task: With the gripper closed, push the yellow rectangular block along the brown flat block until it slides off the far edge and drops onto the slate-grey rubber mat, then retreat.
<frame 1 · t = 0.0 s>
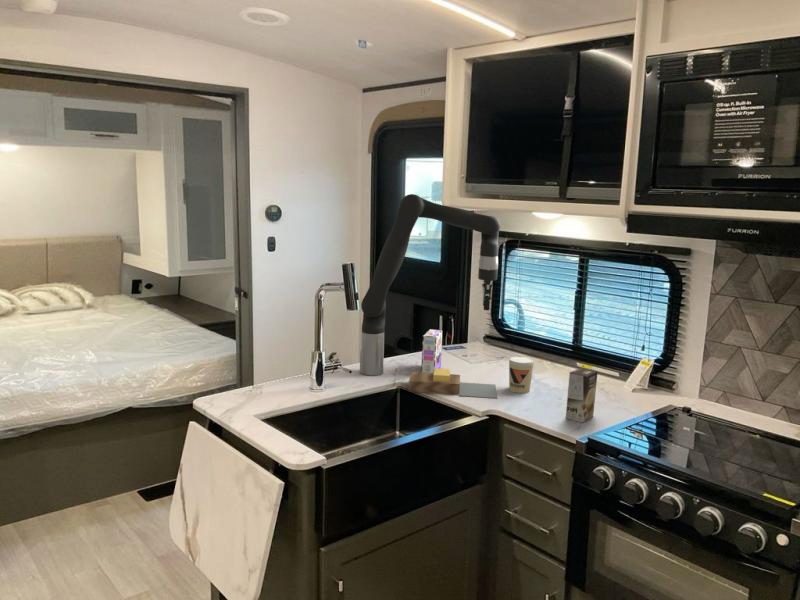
hand: (486, 308, 244), 29 cm above the worktop, fingers open, 8 cm apart
mat: (477, 390, 235), on the worktop
candy box: (431, 371, 259), on the worktop
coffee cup: (519, 390, 237), on the worktop
brown flat block: (434, 387, 236), on the worktop
yellow rectangular block: (441, 378, 235), point 4 cm above the worktop, touching brown flat block
coffee box: (579, 417, 210), on the worktop
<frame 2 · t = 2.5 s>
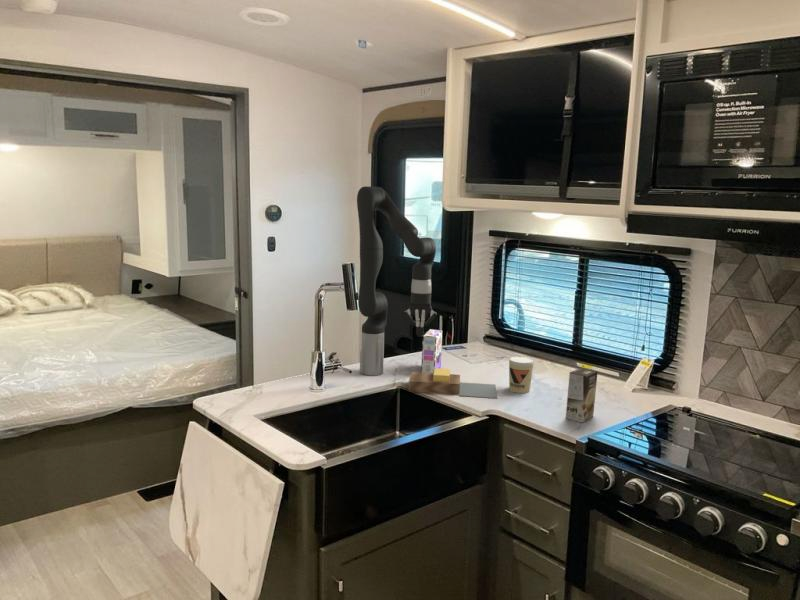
hand: (419, 336, 233), 20 cm above the worktop, fingers closed
nothing on the worktop moved.
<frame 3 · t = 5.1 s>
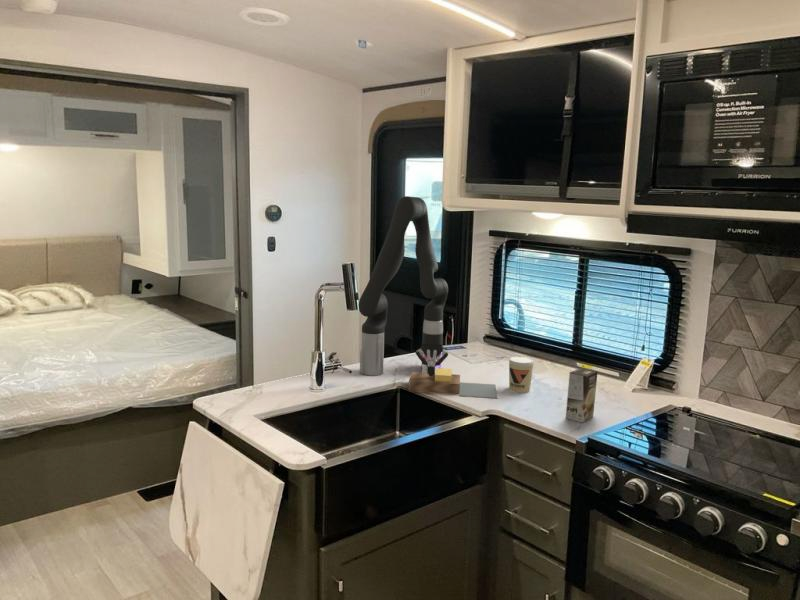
hand: (431, 375, 235), 5 cm above the worktop, fingers closed
yellow rectangular block: (443, 378, 235), point 4 cm above the worktop
everything else where it was.
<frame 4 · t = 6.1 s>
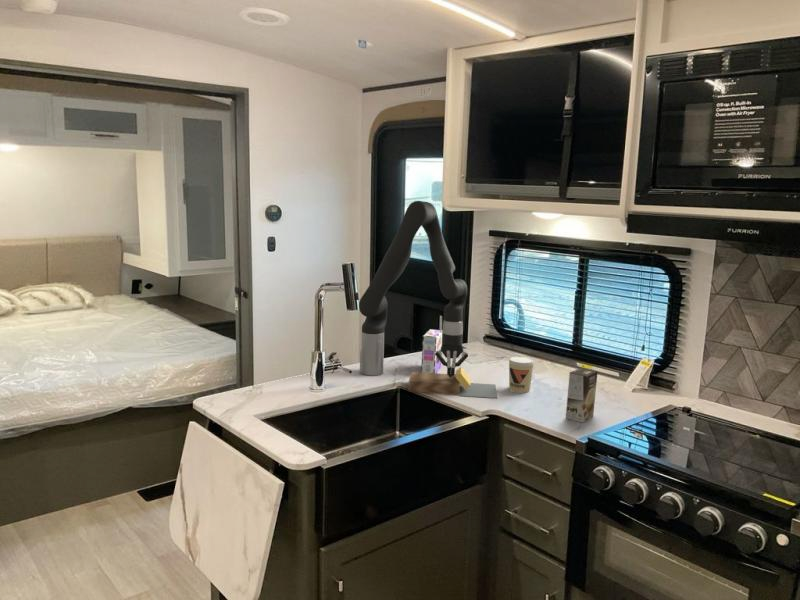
hand: (450, 376, 235), 5 cm above the worktop, fingers closed
yellow rectangular block: (460, 379, 234), point 4 cm above the worktop, tilted 50°
everything else where it was.
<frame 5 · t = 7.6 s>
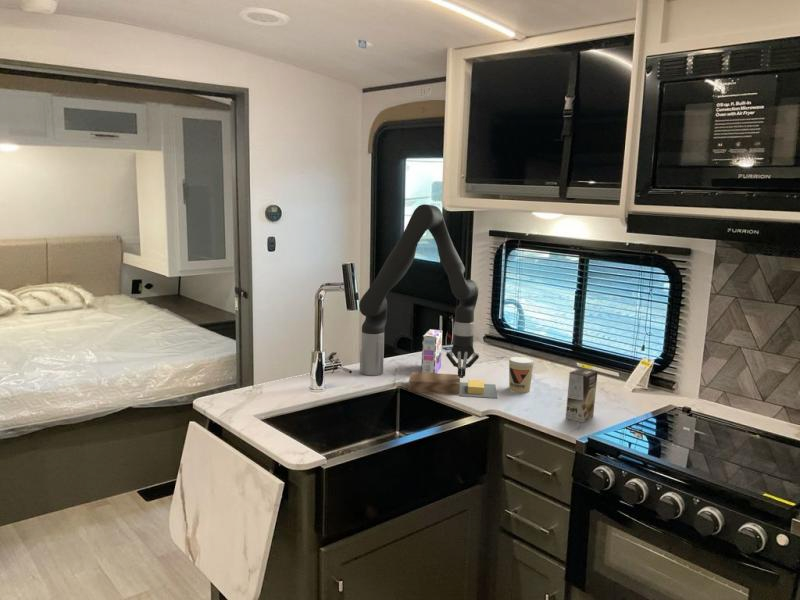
hand: (461, 377, 234), 5 cm above the worktop, fingers closed
yellow rectangular block: (475, 383, 234), point 3 cm above the worktop, tilted 180°, touching mat
everything else where it was.
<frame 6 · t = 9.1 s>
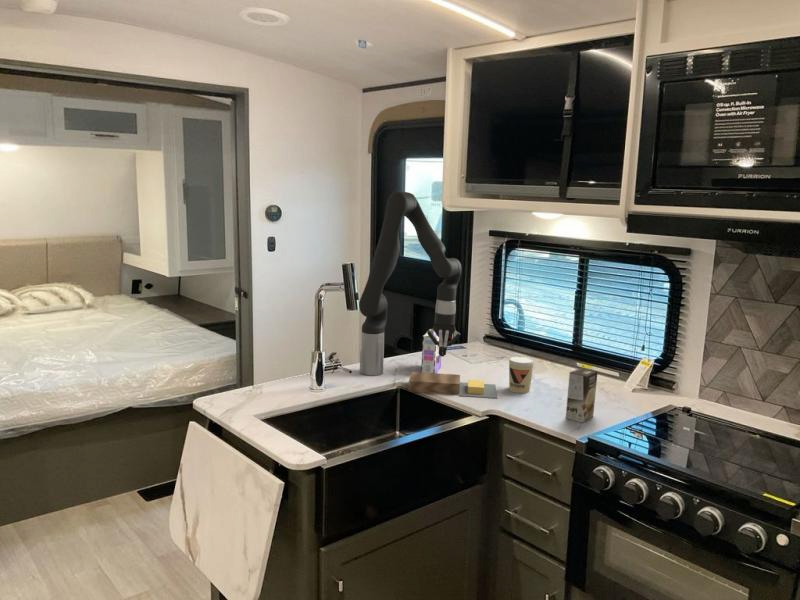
hand: (442, 356, 234), 13 cm above the worktop, fingers closed
nothing on the worktop moved.
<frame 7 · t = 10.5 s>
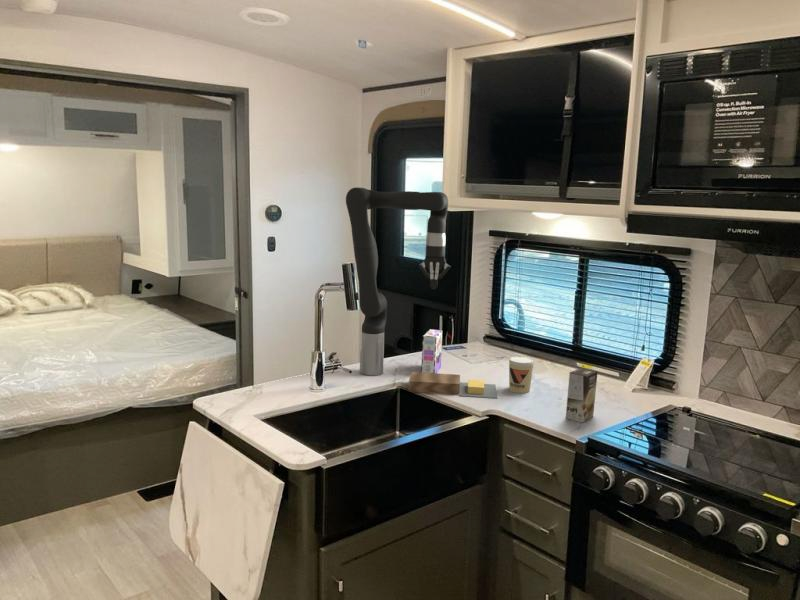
hand: (433, 288, 241), 37 cm above the worktop, fingers closed
nothing on the worktop moved.
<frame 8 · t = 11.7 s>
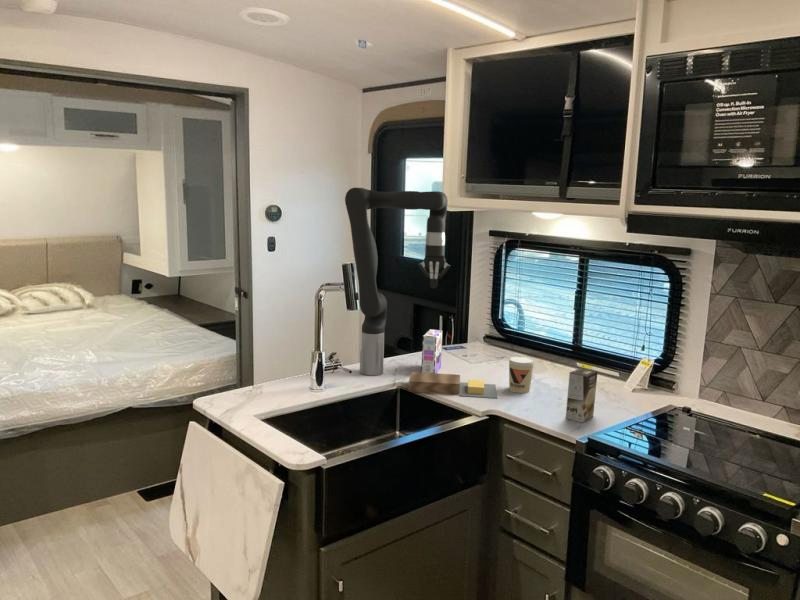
hand: (433, 288, 241), 37 cm above the worktop, fingers closed
nothing on the worktop moved.
at the end: yellow rectangular block point 2.8 cm above the worktop; yellow rectangular block inside the target area on the mat (0.9 cm from its centre), point 2.8 cm above the mat's base; yellow rectangular block touching mat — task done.
